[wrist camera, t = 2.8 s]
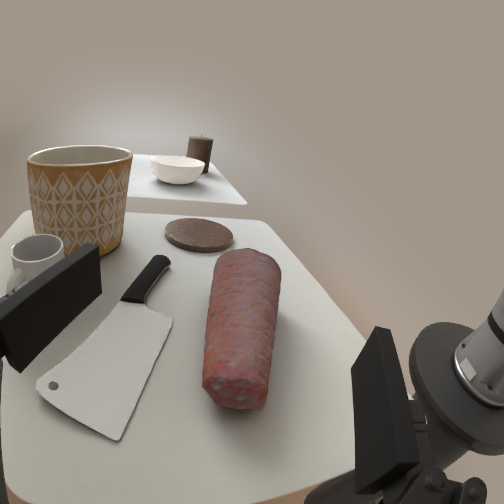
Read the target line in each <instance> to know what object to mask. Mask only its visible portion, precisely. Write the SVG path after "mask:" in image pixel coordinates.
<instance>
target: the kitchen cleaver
mask: <svg viewBox="0 0 504 504" xmlns="http://www.w3.org/2000/svg"><path fill="white" fill-rule="evenodd" d="M170 265H171V262H170V260H169V258H167V257H166V256H164V255H156V256H154V257H153V258H152V260H151V261H150V262H149V263H148V265H147V266H146V267H145V268H144V270H143V271H142V272H141V273H140V275H139V276H138V277H137V278H136V279H135V281H134V282H133V283H132V284H131V285H130V287H129V288H128V289H127V291H126V292H125V293H124V295H123V296H122V297H121V299H120V301H119V302H118V303H117V305H116V306H115V307H114V308H113V309H112V311H111V312H110V313H109V314H108V316H107V317H106V318H105V319H104V320H103V322H102V323H101V324H100V325H99V326H98V328H97V329H96V330H95V331H94V332H93V333H92V334H91V335H90V336H89V337H88V338H87V339H86V340H85V341H84V342H83V343H82V344H81V345H80V346H79V347H78V348H77V349H75V350H74V351H73V352H72V353H71V354H70V355H69V356H68V357H66V358H65V359H64V360H63V361H62V362H60V363H59V364H58V365H56V366H55V367H54V368H52V369H51V370H49V371H48V372H47V373H45V374H44V375H43V376H41V377H40V378H39V379H38V380H37V382H36V390H37V392H38V393H39V394H40V395H41V396H42V397H43V398H44V399H45V400H47V401H48V402H49V403H51V404H52V405H53V406H55V407H56V408H58V409H59V410H61V411H62V412H64V413H65V414H67V415H68V416H70V417H71V418H73V419H75V420H77V421H78V422H80V423H82V424H84V425H86V426H88V427H89V428H91V429H93V430H95V431H97V432H99V433H100V434H102V435H104V436H106V437H108V438H109V439H111V440H114V441H119V440H120V438H121V436H122V434H123V432H124V430H125V428H126V425H127V423H128V421H129V419H130V417H131V415H132V413H133V411H134V408H135V406H136V404H137V402H138V399H139V397H140V395H141V392H142V390H143V388H144V386H145V383H146V381H147V379H148V377H149V375H150V372H151V370H152V368H153V366H154V363H155V361H156V359H157V357H158V355H159V353H160V351H161V348H162V346H163V344H164V342H165V340H166V338H167V336H168V334H169V331H170V329H171V326H172V322H173V319H172V317H170V316H168V315H164V314H161V313H158V312H155V311H153V310H151V309H149V308H147V307H146V306H145V297H146V295H147V293H148V292H149V290H150V289H151V288H152V286H153V285H154V283H155V282H156V281H157V279H158V278H159V277H160V275H161V274H162V273H163V272H164V270H165V269H167V268H168V267H169V266H170ZM51 383H57V384H58V386H59V387H58V389H57V390H51V389H50V388H49V385H50V384H51Z"/></svg>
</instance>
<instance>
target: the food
mask: <svg viewBox="0 0 504 504" xmlns="http://www.w3.org/2000/svg"><path fill="white" fill-rule="evenodd" d="M280 283H281V269H280V267H279V265H278V264H277V263H276V261H275V260H274V259H273V258H272V257H270V256H269V255H267V254H264V253H261V252H259V251H257V250H255V249H250V248H244V249H235V250H231V251H227V252H225V253H224V254H223V255H221V256H220V257H219V258H218V260H217V262H216V264H215V268H214V273H213V281H212V286H211V294H210V300H209V309H208V318H207V325H206V334H205V339H206V343H205V350H204V366H203V384H202V386H203V388H204V389H205V390H206V391H207V393H208V394H209V395H210V396H211V397H212V398H213V399H214V401H215V403H217V404H219V405H222V406H226V407H229V408H233V409H251V410H261V409H263V407H264V406H265V404H266V398H267V394H268V383H269V374H270V367H271V358H272V349H273V342H274V333H275V328H276V321H277V310H278V302H279V295H280Z"/></svg>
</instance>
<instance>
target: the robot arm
mask: <svg viewBox="0 0 504 504" xmlns="http://www.w3.org/2000/svg"><path fill="white" fill-rule="evenodd" d="M100 294H102V286H101V273H100V254H99V246H97V245H94V244H91V243H88V242H87V243H86V244H84V245H83V246H81V247H79V248H78V249H76V250H75V251H73V252H72V253H70V254H69V255H67V256H66V257H64V258H63V259H61V260H60V261H58V262H57V263H55V264H54V265H52V266H51V267H49V268H48V269H46V270H45V271H44V272H42V273H41V274H39V275H38V276H36V277H35V278H34V279H32V280H29V281H26V282H24V283H21V284H19V285H18V286H16V287H15V288H14V289H12V291H10V292H8V293H7V294H6V296H3V297H2V298H0V404H1V383H2V371H3V361H2V359H1V358H2V357H3V356H4V355H5V356H6V359H7V361H8V363H9V365H10V366H12V367H13V368H14V369H15V370H17V371H18V372H19V373H21V372H22V371H23V370H24V369H25V368H26V367H27V366H28V365H29V364H30V363H31V362H32V361H33V360H34V359H35V358H36V357H37V355H38V354H39V353H40V352H41V351H42V350H43V349H44V348H45V347H46V346H47V345H48V344H49V343H50V342H51V341H52V340H53V339H54V338H55V337H56V336H57V335H58V334H59V333H60V332H61V331H62V330H63V329H64V328H65V327H66V326H67V325H68V324H70V323H71V322H72V321H73V320H74V319H75V318H76V317H77V316H78V315H79V314H80V313H81V312H82V311H83V310H84V309H85V308H86V307H87V306H88V305H90V304H91V303H92V302H93V301H94V300H95V299H96V298H97V297H98V296H99V295H100ZM452 367H453V370H454V373H455V375H456V377H457V379H458V381H459V382H460V384H461V385H462V387H463V388H464V389H465V390H466V392H467V393H468V394H469V395H470V396H471V397H472V398H474V399H475V400H476V401H478V402H479V403H481V404H482V405H484V406H486V407H489V408H492V409H503V408H504V289H503V291H502V293H501V295H500V297H499V298H498V300H497V302H496V304H495V306H494V307H493V309H492V311H491V313H490V314H489V316H488V318H487V319H486V320H485V322H484V323H482V324H481V325H480V326H479V327H478V328H477V329H476V330H474V331H473V332H472V333H471V334H470V335H469V336H467V337H466V338H465V339H464V340H463V341H462V342H461V343H460V344H459V345H458V346H457V348H456V349H455V351H454V352H453V354H452ZM351 377H352V391H353V407H354V429H355V494H375V493H377V492H378V491H380V490H381V489H383V496H382V497H380V498H378V499H377V500H375V501H373V502H371V503H370V504H485V502H486V497H487V489H486V485H485V483H484V482H483V481H482V480H481V479H480V478H477V477H473V478H470V479H468V480H467V481H466V482H464V483H460V482H455V481H452V480H448V479H447V477H446V475H445V473H444V472H443V471H442V470H441V469H440V468H438V467H435V464H434V458H433V453H432V447H431V442H430V437H429V433H428V428H427V424H426V419H425V414H424V411H423V409H422V407H421V406H420V404H419V403H418V401H417V400H408V395H407V391H406V387H405V383H404V378H403V374H402V370H401V366H400V363H399V359H398V355H397V352H396V348H395V344H394V341H393V337H392V334H391V331H390V329H386V328H381V327H377V326H375V328H374V330H373V331H372V333H371V335H370V337H369V339H368V340H367V342H366V344H365V346H364V347H363V349H362V351H361V353H360V354H359V356H358V358H357V359H356V361H355V363H354V364H353V366H352V368H351ZM0 504H9V502H8V497H7V491H6V485H5V478H4V470H3V461H2V449H1V429H0Z"/></svg>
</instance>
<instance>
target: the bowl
mask: <svg viewBox="0 0 504 504" xmlns="http://www.w3.org/2000/svg"><path fill="white" fill-rule="evenodd" d="M204 166H205V163H204V162H202V161H200V160H197V159H193V158H188V157H182V156H169V155H168V156H167V155H166V156H165V155H163V156H154V157H152V158H151V168H152V169H153V173H154V174H155V176H156V177H157V178H158V179H159V180H161V181H163V182H166V183H171V184H188V183H191V182H194V181H195V180H196V179H197V178H198V177H199V175H200V174H201V173H202V171H203V169H204Z"/></svg>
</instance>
